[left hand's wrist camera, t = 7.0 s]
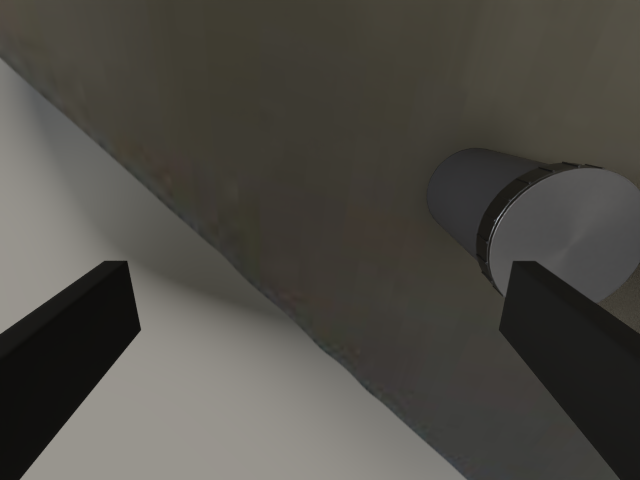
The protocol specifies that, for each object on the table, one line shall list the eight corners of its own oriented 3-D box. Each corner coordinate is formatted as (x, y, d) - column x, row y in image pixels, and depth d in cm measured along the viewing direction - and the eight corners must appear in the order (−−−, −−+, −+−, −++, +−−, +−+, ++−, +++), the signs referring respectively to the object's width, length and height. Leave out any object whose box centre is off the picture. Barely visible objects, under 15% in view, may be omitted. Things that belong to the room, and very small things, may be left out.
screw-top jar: (501, 133, 37) (626, 149, 22) (522, 212, 40) (646, 276, 25) (415, 170, 39) (477, 210, 23) (441, 245, 42) (512, 324, 26)
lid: (611, 135, 24) (641, 137, 21) (633, 268, 27) (661, 282, 25) (457, 199, 25) (470, 207, 23) (496, 318, 28) (510, 335, 26)
